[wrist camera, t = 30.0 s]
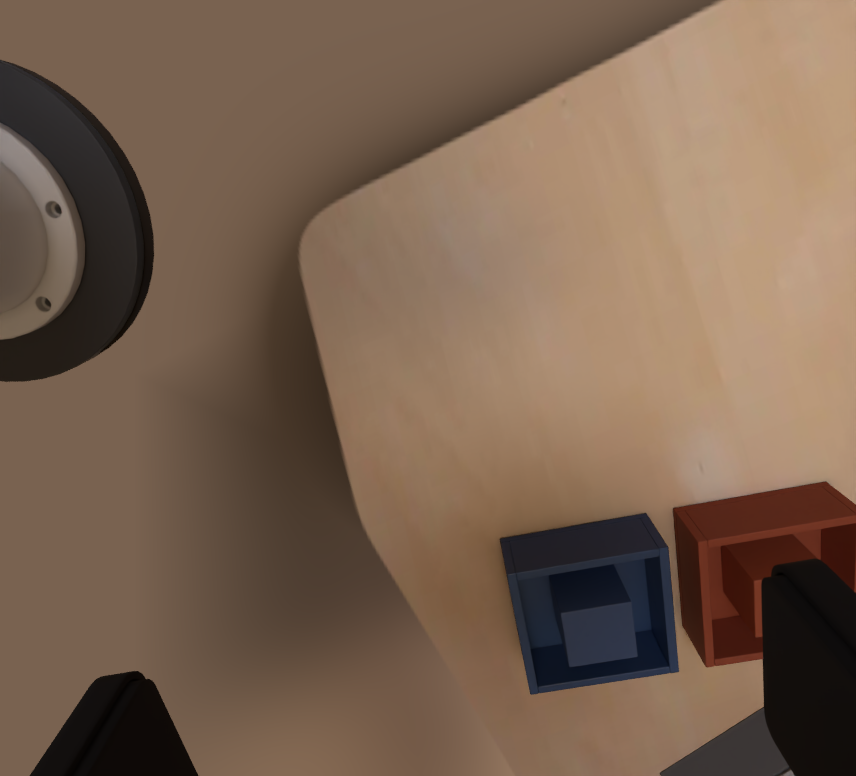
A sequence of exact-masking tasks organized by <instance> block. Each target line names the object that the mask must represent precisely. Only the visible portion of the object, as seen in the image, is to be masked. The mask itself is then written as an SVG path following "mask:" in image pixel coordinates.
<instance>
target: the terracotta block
mask: <svg viewBox="0 0 856 776" xmlns="http://www.w3.org/2000/svg"><path fill="white" fill-rule="evenodd" d="M721 557H722V577H723V592H724V593H725V595H726V596H727V598H728V599H729V601H730V602H731V603H732V605H733V606H734V608H735V609H736V610H737V612H738V613H739V615H740V616H741V618H742V619H743V620H744V622H745V623H746V625H747V626H748V627H749V629H750V630H751V632H752V633H753V635H754V636H755V637H762V598H761V583H762V580H763V578H765V577H771V572H772V568H773V566H775V565H778V564H784V563H790V562H796V561H802V560H808V559H814V558H816V559H818V558H817V557H816V556H815V555H813V554H812V553H811V552H810V551H809V550H808V549H807V548H806V547H805V546H804V545H803V544H802V543H801V542H800V541H799V540H798V539H797V538H796V537H795V536H794V535H793V534H788V535H783V536H777V537H771V538H765V539H759V540H753V541H747V542H741V543H735V544H729V545H723V546H721Z"/></svg>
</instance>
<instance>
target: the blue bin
mask: <svg viewBox="0 0 856 776" xmlns="http://www.w3.org/2000/svg"><path fill="white" fill-rule="evenodd" d="M500 542H501V547H502V553H503V558H504V563H505V569H506V574H507V579H508V584H509V589H510V594H511V599H512V604H513V609H514V614H515V619H516V624H517V629H518V635H519V640H520V645H521V650H522V655H523V660H524V665H525V670H526V675H527V680H528V685H529V690H530V694H531V695H532V694H538V693H544V692H551V691H557V690H564V689H570V688H577V687H583V686H590V685H596V684H602V683H609V682H615V681H622V680H628V679H635V678H641V677H648V676H654V675H661V674H667V673H675V672H679V667H678V655H677V643H676V632H675V620H674V608H673V597H672V585H671V573H670V562H669V550H668V546H667V545H666V543H665V542H664V540H663V538H662V537H661V535H660V534H659V532H658V531H657V529H656V528H655V526H654V524H653V523H652V521H651V520H650V518H649V517H648V515H647V514H646V513H644V514H639V515H633V516H627V517H622V518H616V519H610V520H604V521H599V522H593V523H587V524H582V525H576V526H570V527H564V528H559V529H553V530H547V531H542V532H536V533H530V534H524V535H519V536H513V537H507V538H502V539H500ZM612 564H614V566H615V568H616V570H617V572H618V574H619V576H620V578H621V581H622V583H623V585H624V587H625V589H626V591H627V593H628V595H629V598H630V600H631V602H632V610H633V618H634V627H635V636H636V645H637V653H638V656H637V657H633V658H626V659H620V660H614V661H607V662H601V663H594V664H588V665H582V666H575V667H569V664H568V661H567V657H566V654H565V650H564V647H563V643H562V640H561V636H560V632H559V629H558V625H557V622H556V618H555V612H554V606H553V600H552V594H551V588H550V582H549V576H548V575H553V574H559V573H564V572H570V571H576V570H582V569H588V568H594V567H600V566H606V565H612Z"/></svg>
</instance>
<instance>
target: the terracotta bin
mask: <svg viewBox="0 0 856 776" xmlns="http://www.w3.org/2000/svg"><path fill="white" fill-rule="evenodd" d="M673 512H674V525H675V537H676V550H677V562H678V575H679V587H680V600H681V612H682V624H683V627H684V629H685V631H686V632H687V634H688V636H689V638H690V640H691V641H692V643H693V645H694V647H695V648H696V650H697V652H698V654H699V656H700V657H701V659H702V661H703V663H704V665H705V666H706V667H713V666H720V665H726V664H733V663H739V662H745V661H752V660H758V659H763V639H762V637H755V636H754V635H753V633H752V632H751V630H750V629H749V627H748V626H747V625H746V623H745V622H744V620H743V619H742V618H741V616H740V615H739V613H738V612H737V610H736V609H735V608H734V606H733V605H732V603H731V602H730V601H729V599H728V598H727V596H726V595H725V593H724V592H723V577H722V557H721V546H723V545H729V544H735V543H741V542H747V541H753V540H759V539H765V538H771V537H777V536H783V535H788V534H793V535H794V536H795V537H796V538H797V539H798V540H799V541H800V542H801V543H802V544H803V545H804V546H805V547H806V548H807V549H808V550H809V551H810V552H811V553H812V554H813V555H815V556H816V557H817V558H818V559H819V560H821V561H823V562H824V563H825V564H826V565H827V566H828V567H829V568H830V569H832V570H833V571H834V572H835V573H836V574H837V575H838V576H839V577H840V578H841V579H842V580H843V581H844V582H845V583H846V584H847V585H848V586H849V587H850V588H851V589H852V590H853V591H854V592H855V593H856V505H855V504H854V503H853V502H852V501H850V500H849V499H848V498H846V497H845V496H844V495H842V494H841V493H840V492H839V491H837V490H836V489H835V488H833V487H832V486H830V484H828V483H827V482H822V483H816V484H810V485H804V486H799V487H793V488H787V489H781V490H776V491H770V492H764V493H759V494H753V495H747V496H741V497H736V498H730V499H724V500H719V501H713V502H707V503H701V504H696V505H690V506H684V507H679V508H674V509H673Z"/></svg>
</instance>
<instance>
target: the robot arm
mask: <svg viewBox="0 0 856 776" xmlns="http://www.w3.org/2000/svg"><path fill="white" fill-rule="evenodd" d="M59 206H60V207H61V211H62V212H61V211H60V209H59ZM84 265H85V239H84V233H83V227H82V222H81V219H80V216H79V213H78V210H77V207H76V204H75V201H74V199H73V197H72V195H71V194H70V192H69V190H68V188H67V186H66V184H65V182H64V181H63V179H62V177H61V176H60V175H59V174H58V172H57V171H56V170H55V168H54V167H53V166H52V164H51V163H50V162H49V160H48V159H47V158H46V157H45V156H44V155H43V154H42V153H41V152H40V151H39V150H38V149H37V148H36V147H35V146H33V145H32V144H31V143H30V142H29V141H28V140H27V139H25V138H24V137H22V136H21V135H19V134H18V133H17V132H15V131H14V130H12V129H11V128H10V127H8V126H6V125H4V124H2V123H0V340H3V339H12V338H15V337H18V336H21V335H24V334H27V333H30V332H32V331H35V330H37V329H39V328H41V327H43V326H46V325H47V324H49V323H50V322H51V321H53V320H54V319H55V318H56V317H58V316H59V315H60V314H61V313H62V312H63V311H64V310H65V308H66V307H67V306H68V305H69V303H70V302H71V301H72V299H73V297H74V295H75V293H76V291H77V289H78V287H79V285H80V282H81V278H82V274H83V270H84ZM49 301H50V302H49ZM761 598H762V639H763V681H764V714H765V720H766V724H767V727H768V729H769V732H770V734H771V737H772V739H773V740H774V742H775V744H776V746H777V747H778V749H779V751H780V752H781V754H782V756H783V757H784V759H785V761H786V762H787V764H788V765H789V767H790V769H791V770H792V772H793V774H794V775H795V776H856V593H855V592H854V591H853V590H852V589H851V588H850V587H849V586H848V585H847V584H846V583H845V582H844V581H843V580H842V579H841V578H840V577H839V576H838V575H837V574H836V573H835V572H834V571H833V570H832V569H830V568H829V567H828V566H827V565H826V564H825V563H824V562H823V561H821V560H819V559H816V558H814V559H808V560H802V561H796V562H790V563H784V564H778V565H775V566H773V568H772V572H771V577H765V578H763V580H762V583H761ZM30 776H198V774H197V772H196V770H195V768H194V766H193V764H192V761H191V759H190V757H189V755H188V753H187V751H186V749H185V747H184V745H183V743H182V740H181V738H180V737H179V734H178V732H177V730H176V728H175V726H174V723H173V721H172V719H171V717H170V715H169V713H168V711H167V709H166V707H165V705H164V702H163V701H162V698H161V696H160V694H159V692H158V690H157V688H156V685H155V684H154V682H153V681H151V680H150V679H145V677H144V676H143V674H142V673H140V672H138V671H132V672H126V673H120V674H114V675H108V676H103V677H100V678H98V679H96V680H95V681H94V682H93V683H92V684H91V686H90V687H89V688H88V690H87V691H86V693H85V694H84V696H83V697H82V699H81V700H80V702H79V703H78V705H77V706H76V708H75V709H74V711H73V712H72V714H71V715H70V717H69V718H68V720H67V721H66V723H65V724H64V725H63V727H62V728H61V730H60V732H59V733H58V734H57V736H56V737H55V739H54V740H53V742H52V743H51V745H50V746H49V748H48V749H47V751H46V752H45V754H44V755H43V757H42V758H41V760H40V761H39V763H38V764H37V766H36V767H35V769H34V770H33V772H32V773H31V775H30Z"/></svg>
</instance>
